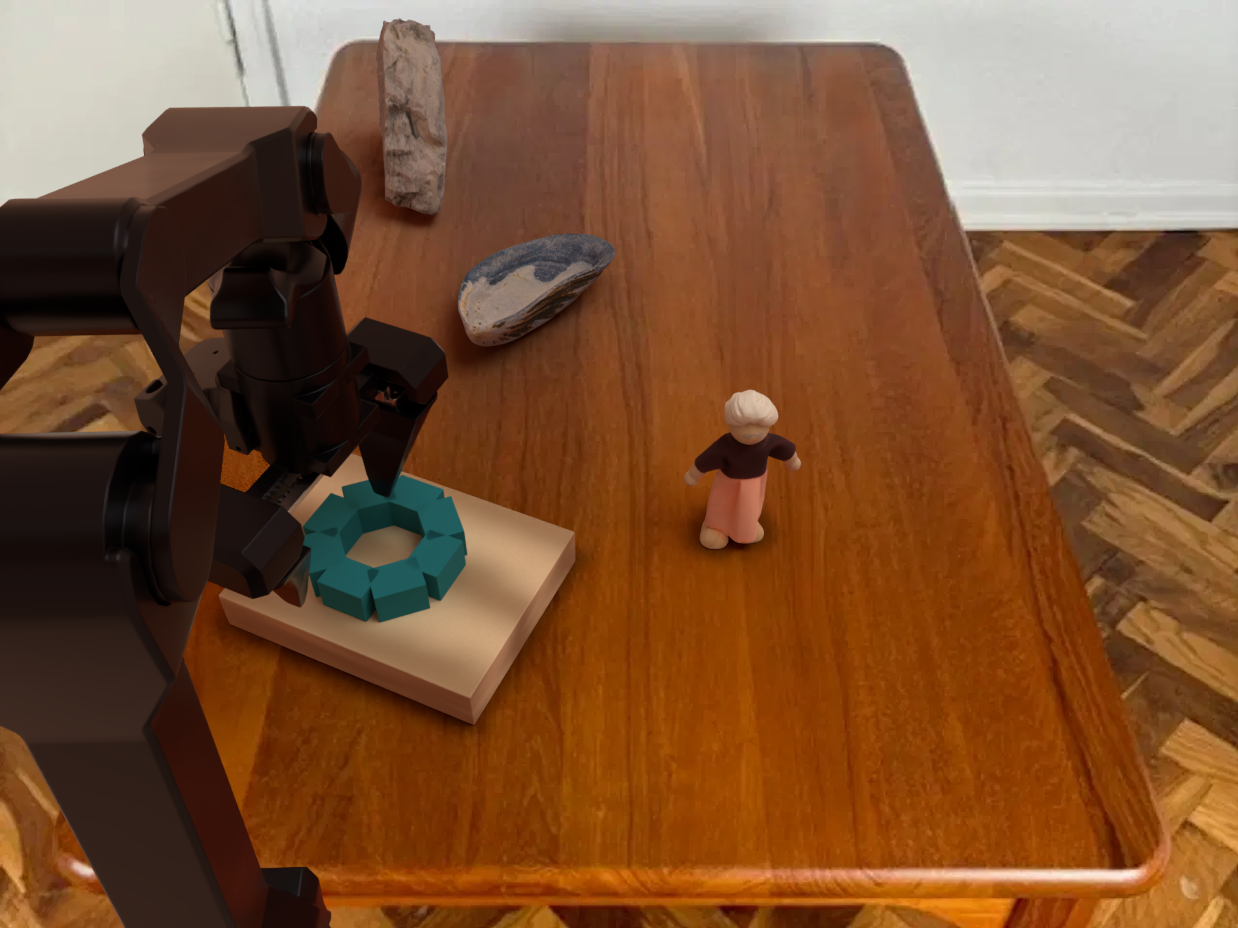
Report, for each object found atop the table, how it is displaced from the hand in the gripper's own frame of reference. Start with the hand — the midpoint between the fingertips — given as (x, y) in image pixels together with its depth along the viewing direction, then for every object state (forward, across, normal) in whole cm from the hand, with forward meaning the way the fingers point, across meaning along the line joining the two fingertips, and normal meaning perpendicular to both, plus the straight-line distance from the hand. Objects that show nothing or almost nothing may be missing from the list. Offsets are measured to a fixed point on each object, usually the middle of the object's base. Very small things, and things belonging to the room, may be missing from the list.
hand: (340, 546), depth 70 cm
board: (+8, -4, +1) cm, 9 cm away
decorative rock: (+8, -46, -24) cm, 52 cm away
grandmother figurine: (+8, -18, +19) cm, 27 cm away
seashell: (+8, -33, -4) cm, 34 cm away
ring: (+5, -4, 0) cm, 7 cm away
